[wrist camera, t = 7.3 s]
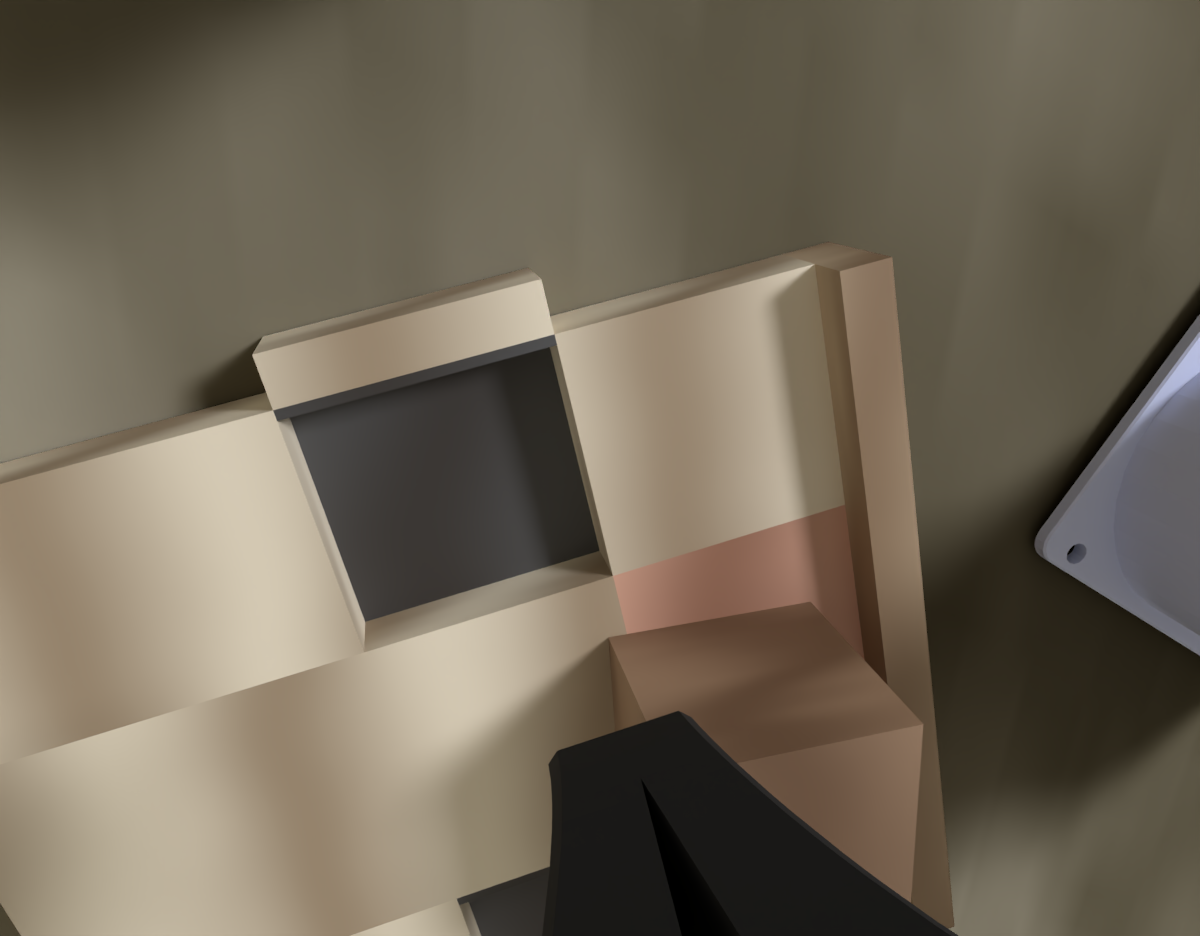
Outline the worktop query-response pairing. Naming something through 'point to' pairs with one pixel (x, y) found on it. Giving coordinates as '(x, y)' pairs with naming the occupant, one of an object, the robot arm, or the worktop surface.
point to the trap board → (432, 594)
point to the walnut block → (790, 722)
